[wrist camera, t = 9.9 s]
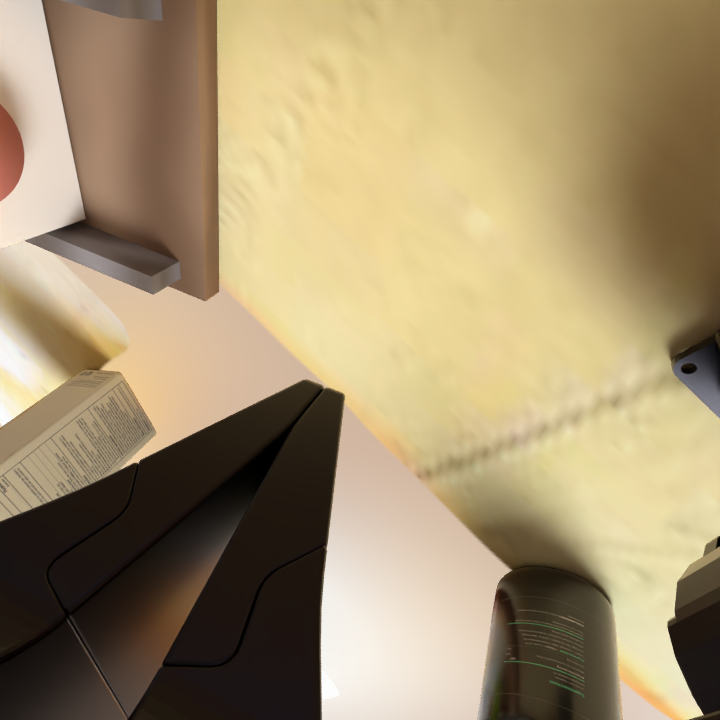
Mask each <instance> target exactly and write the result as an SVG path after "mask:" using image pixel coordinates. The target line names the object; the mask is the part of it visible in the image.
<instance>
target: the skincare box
mask: <svg viewBox="0 0 720 720" xmlns="http://www.w3.org/2000/svg"><path fill="white" fill-rule="evenodd" d="M155 434H156V431H155V429H154V427H153V426H152V424H151V422H150V420H149V419H148V417H147V415H146V414H145V412H144V410H143V409H142V407H141V405H140V403H139V402H138V400H137V398H136V397H135V395H134V393H133V392H132V390H131V388H130V387H129V385H128V383H127V382H126V380H125V379H124V377H123V375H122V374H121V373H120V372H113V371H102V370H83V371H81V372H80V373H78V374H77V375H75V376H74V377H73V378H71V379H70V380H68V381H67V382H65V383H64V384H62V385H61V386H60V387H58V388H57V389H55V390H54V391H52V392H51V393H50V394H48V395H47V396H45V397H44V398H42V399H41V400H40V401H38V402H37V403H35V404H34V405H32V406H31V407H30V408H28V409H27V410H25V411H24V412H22V413H21V414H20V415H18V416H17V417H15V418H14V419H12V420H11V421H10V422H8V423H7V424H5V425H4V426H2V427H1V428H0V521H2V520H5V519H7V518H10V517H12V516H15V515H17V514H20V513H22V512H25V511H27V510H30V509H32V508H35V507H37V506H40V505H42V504H45V503H47V502H49V501H52V500H54V499H57V498H59V497H61V496H64V495H66V494H69V493H71V492H73V491H76V490H78V489H80V488H82V487H85V486H87V485H89V484H91V483H93V482H95V481H98V480H100V479H102V478H104V477H106V476H108V475H110V474H113V473H115V472H117V471H119V470H120V469H121V468H122V467H123V466H124V464H126V463H127V462H128V461H129V460H130V459H131V458H132V457H133V456H134V455H135V454H136V453H137V452H138V451H139V450H140V449H141V448H142V447H143V446H144V445H145V444H146V443H147V442H148V441H149V440H150V439H151V438H152V437H153V436H155Z"/></svg>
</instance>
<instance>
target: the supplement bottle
mask: <svg viewBox="0 0 720 720" xmlns="http://www.w3.org/2000/svg"><path fill="white" fill-rule="evenodd" d="M478 720H623V719H622V706H621V692H620V678H619V664H618V650H617V636H616V626H615V617H614V612H613V609H612V607H611V605H610V603H609V602H608V600H607V599H606V598H605V596H604V595H603V594H602V593H601V592H600V591H599V590H598V589H597V588H595V587H594V586H593V585H591V584H590V583H588V582H587V581H585V580H583V579H581V578H579V577H577V576H575V575H573V574H570V573H567V572H564V571H561V570H557V569H553V568H547V567H524V568H519V569H516V570H513V571H511V572H509V573H508V574H506V575H505V576H504V577H503V578H502V579H501V580H500V582H499V583H498V586H497V590H496V595H495V602H494V607H493V614H492V620H491V627H490V635H489V641H488V649H487V656H486V662H485V669H484V676H483V683H482V691H481V697H480V704H479V711H478Z"/></svg>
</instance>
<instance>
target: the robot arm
mask: <svg viewBox="0 0 720 720" xmlns="http://www.w3.org/2000/svg"><path fill="white" fill-rule="evenodd" d="M687 363H693V364H694V366H692V367H691V368H682V367H681V366H683V365H684V364H687ZM672 369H673V372H674V374H675V375H676V376H677V377H678V378H679V379H680V380H681V381H682V382H683V383H684V384H685V385H686V386H687V387H688V388H689V389H690V390H691V391H692V392H693V393H694V394H695V395H696V396H697V397H698V398H699V399H700V400H701V401H702V402H703V403H704V404H706V405H707V406H708V407H709V408H710V409H711V410H712V411H713V412H714V413H715V414H716V415H717V416H718V417H719V418H720V330H718V332H717V334H716V335H714V336H712V337H710V338H708V339H706V340H704V341H703V342H701V343H699V344H697V345H695V346H693V347H691V348H689V349H688V350H686V351H684V352H682V353H680V354H678V355H677V356H675V357H674V358H673V360H672ZM344 400H345V395H344V394H343V393H341V392H339V391H336V390H334V389H331V388H325V389H324V387H323V386H322V385H320V384H318V383H315V382H313V381H310V380H302V381H300V382H298V383H296V384H294V385H292V386H290V387H288V388H286V389H284V390H282V391H280V392H278V393H276V394H274V395H272V396H270V397H267V398H265V399H263V400H261V401H259V402H257V403H256V404H253V405H251V406H249V407H247V408H245V409H243V410H241V411H239V412H237V413H235V414H233V415H231V416H229V417H227V418H225V419H223V420H221V421H219V422H217V423H215V424H213V425H211V426H208V427H206V428H204V429H202V430H200V431H198V432H196V433H194V434H192V435H190V436H188V437H186V438H184V439H182V440H180V441H178V442H176V443H174V444H172V445H170V446H168V447H166V448H164V449H162V450H160V451H158V452H156V453H154V454H152V455H150V456H148V457H146V458H143V459H141V460H140V461H139V464H138V463H133V464H131V465H129V466H127V467H125V468H123V469H121V470H119V471H117V472H115V473H113V474H110V475H108V476H106V477H104V478H102V479H100V480H98V481H95V482H93V483H91V484H89V485H87V486H85V487H82V488H80V489H78V490H76V491H73V492H71V493H69V494H66V495H64V496H61V497H59V498H57V499H54V500H52V501H49V502H47V503H45V504H42V505H40V506H37V507H35V508H32V509H30V510H27V511H25V512H22V513H20V514H17V515H15V516H12V517H10V518H7V519H5V520H2V521H0V720H322V696H321V606H322V595H323V593H322V592H323V582H324V571H325V562H326V554H327V549H326V548H327V543H328V535H329V527H330V517H331V510H332V502H333V493H334V485H335V476H336V468H337V459H338V451H339V442H340V434H341V425H342V417H343V409H344ZM668 631H669V635H670V639H671V642H672V646H673V650H674V654H675V657H676V660H677V662H678V664H679V667H680V669H681V671H682V673H683V676H684V678H685V680H686V682H687V685H688V687H689V689H690V691H691V694H692V696H693V698H694V699H695V701H696V703H697V704H698V706H699V708H700V709H701V711H702V713H703V714H704V715H702V716H699V717H696V718H692V719H689V720H720V536H718V537H717V538H715V539H714V540H712V541H711V542H709V543H707V544H706V546H705V551H704V555H703V557H702V558H700V559H699V560H697V561H695V562H694V563H692V564H691V565H690V566H689V567H688V568H687V570H686V571H685V572H684V574H683V575H682V576H681V578H680V579H679V581H678V582H677V592H676V602H675V617H673V618H671V619H670V620H669V621H668Z"/></svg>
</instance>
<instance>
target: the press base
mask: <svg viewBox="0 0 720 720" xmlns="http://www.w3.org/2000/svg"><path fill="white" fill-rule="evenodd" d="M42 5H43V10H44V15H45V20H46V25H47V30H48V35H49V40H50V45H51V50H52V55H53V60H54V65H55V69H56V74H57V79H58V84H59V89H60V94H61V99H62V104H63V109H64V114H65V119H66V124H67V129H68V134H69V139H70V143H71V148H72V153H73V158H74V163H75V168H76V173H77V178H78V183H79V188H80V193H81V198H82V203H83V208H84V213H85V217H86V219H84V220H81V221H78V222H75V223H73V224H70V225H67V226H64V227H61V228H58V229H56V230H53V231H50V232H47V233H44V234H41V235H39V236H36V237H33V238H30V239H27V240H24V241H26V242H29V243H31V244H33V245H36V246H38V247H41V248H43V249H45V250H48V251H50V252H53V253H55V254H58V255H60V256H62V257H65V258H67V259H69V260H72V261H74V262H77V263H79V264H81V265H84V266H86V267H88V268H91V269H93V270H96V271H98V272H100V273H103V274H105V275H108V276H110V277H112V278H115V279H117V280H120V281H122V282H124V283H127V284H129V285H132V286H134V287H136V288H139V289H141V290H144V291H146V292H148V293H151V294H155V293H157V292H159V291H160V290H162V289H164V288H165V287H167V286H169V287H172V288H175V289H177V290H179V291H182V292H184V293H187V294H189V295H192V296H194V297H196V298H199V299H201V300H203V301H206V300H208V299H209V298H211V297H212V296H214V295H215V294H216V293H218V292H219V234H218V117H217V0H42Z"/></svg>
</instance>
